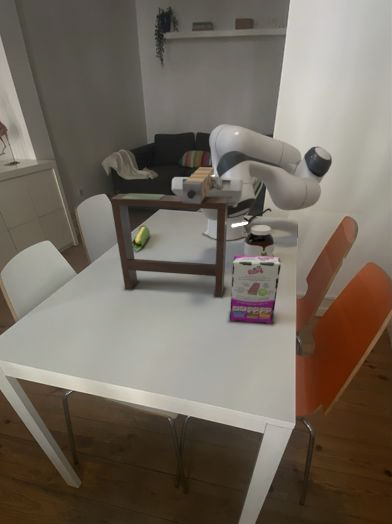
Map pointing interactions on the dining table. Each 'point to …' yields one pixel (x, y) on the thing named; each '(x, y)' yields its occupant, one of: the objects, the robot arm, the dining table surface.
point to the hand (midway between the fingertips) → (203, 177)
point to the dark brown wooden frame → (134, 265)
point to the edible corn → (140, 237)
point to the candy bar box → (254, 288)
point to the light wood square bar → (197, 185)
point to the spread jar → (259, 241)
